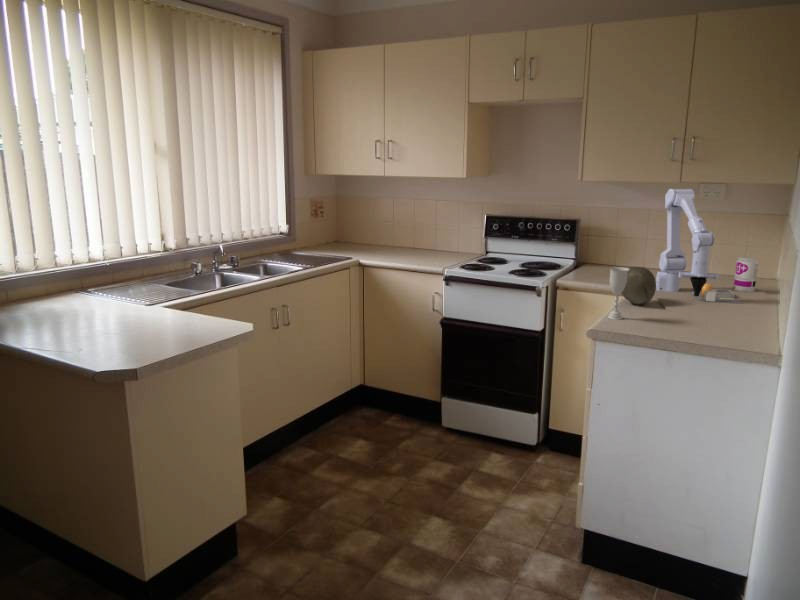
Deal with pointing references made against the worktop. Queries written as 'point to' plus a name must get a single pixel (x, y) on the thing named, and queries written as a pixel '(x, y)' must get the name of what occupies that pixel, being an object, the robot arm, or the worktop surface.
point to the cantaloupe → (639, 285)
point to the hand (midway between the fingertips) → (696, 295)
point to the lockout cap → (706, 288)
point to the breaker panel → (718, 299)
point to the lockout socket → (724, 293)
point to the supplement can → (745, 274)
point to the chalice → (617, 287)
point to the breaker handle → (709, 296)
